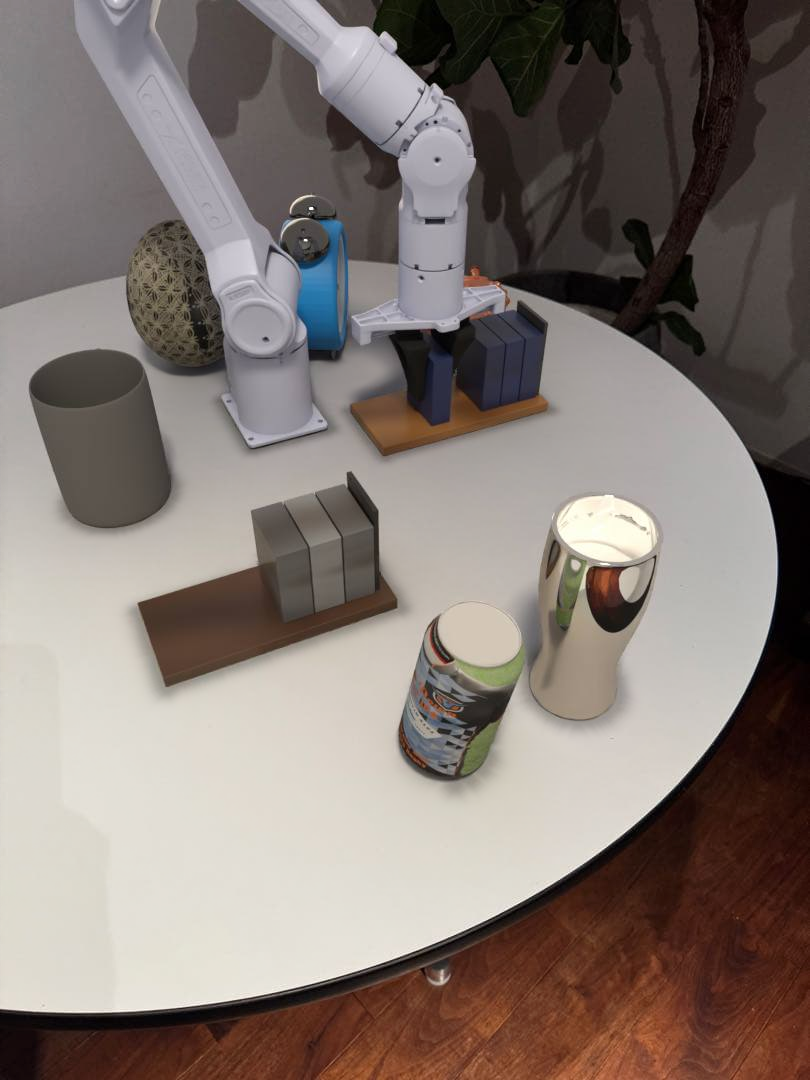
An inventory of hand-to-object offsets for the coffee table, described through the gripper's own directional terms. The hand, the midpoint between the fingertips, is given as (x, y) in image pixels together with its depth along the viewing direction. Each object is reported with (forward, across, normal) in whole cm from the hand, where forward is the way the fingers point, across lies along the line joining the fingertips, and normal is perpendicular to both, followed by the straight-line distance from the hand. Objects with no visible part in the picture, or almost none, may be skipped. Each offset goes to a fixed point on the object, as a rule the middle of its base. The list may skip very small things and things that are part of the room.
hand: (427, 392), depth 84 cm
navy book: (+2, 0, 0) cm, 2 cm away
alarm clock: (+3, -4, +18) cm, 19 cm away
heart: (+3, +10, +14) cm, 18 cm away
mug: (+3, -29, +3) cm, 30 cm away
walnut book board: (+3, -22, -18) cm, 29 cm away
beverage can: (+3, -16, -35) cm, 38 cm away
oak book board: (+3, +2, 0) cm, 4 cm away
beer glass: (+3, -6, -34) cm, 35 cm away
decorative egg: (+3, -18, +20) cm, 27 cm away
